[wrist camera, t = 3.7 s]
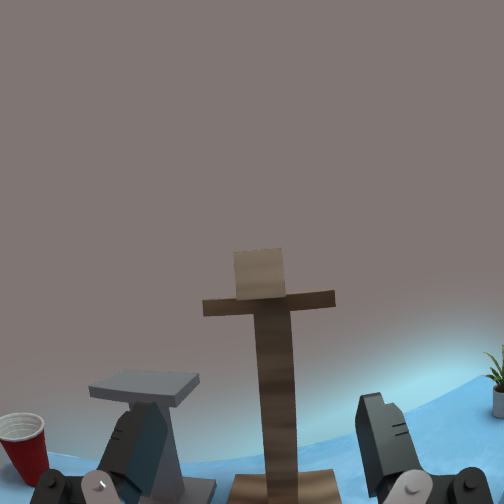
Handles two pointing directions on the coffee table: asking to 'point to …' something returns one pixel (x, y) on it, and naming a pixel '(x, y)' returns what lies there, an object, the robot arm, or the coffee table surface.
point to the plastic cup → (25, 444)
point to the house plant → (498, 389)
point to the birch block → (259, 274)
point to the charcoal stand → (167, 395)
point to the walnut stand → (278, 403)
